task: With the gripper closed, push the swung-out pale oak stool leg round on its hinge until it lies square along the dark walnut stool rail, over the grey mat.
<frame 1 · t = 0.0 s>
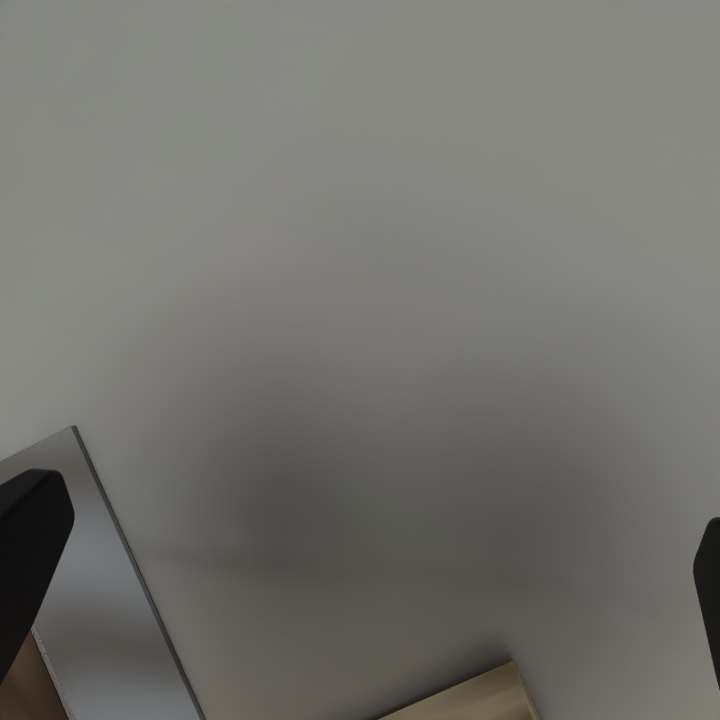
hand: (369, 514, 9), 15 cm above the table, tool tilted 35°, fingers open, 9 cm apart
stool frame: (2, 689, 25), on the table
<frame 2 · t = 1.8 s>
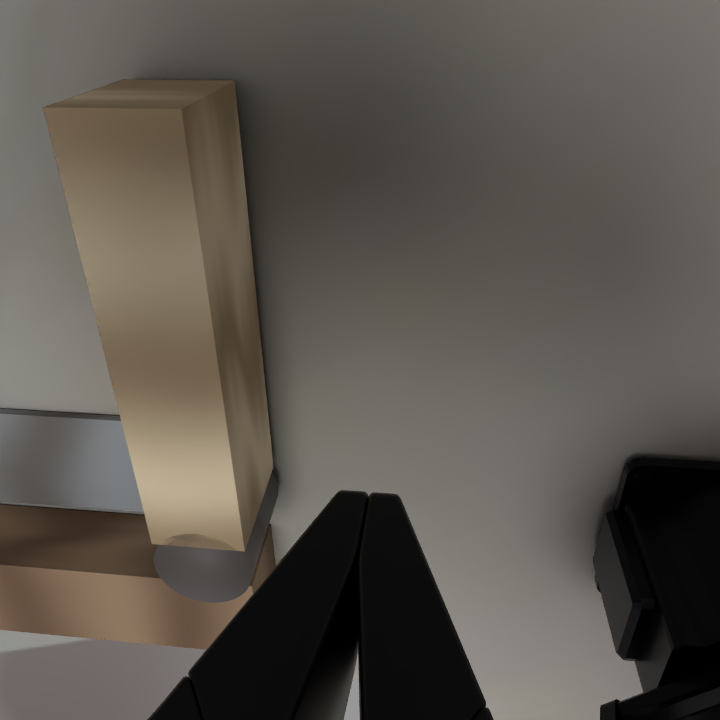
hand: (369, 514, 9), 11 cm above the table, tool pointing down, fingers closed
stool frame: (68, 542, 28), on the table
oak leg: (195, 373, 19), point 2 cm above the table, hinge at -90.0°
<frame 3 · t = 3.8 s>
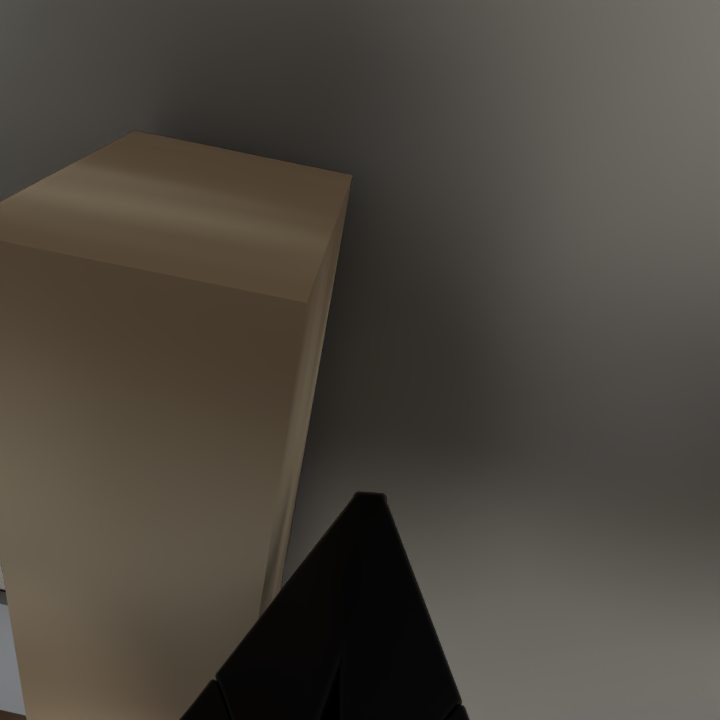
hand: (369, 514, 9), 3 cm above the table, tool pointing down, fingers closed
oak leg: (177, 636, 11), point 2 cm above the table, hinge at -85.9°, touching gripper
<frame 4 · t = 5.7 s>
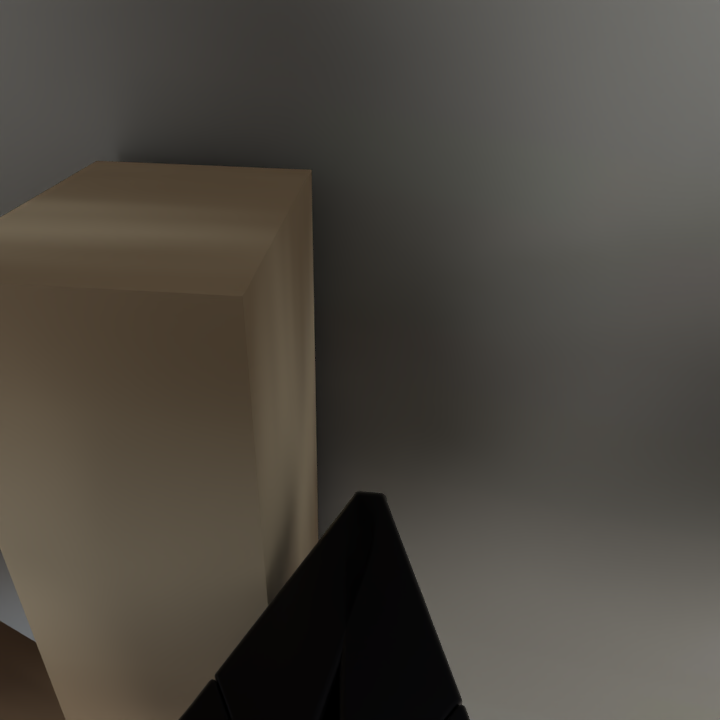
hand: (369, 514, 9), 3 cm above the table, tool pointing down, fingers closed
oak leg: (217, 649, 11), point 2 cm above the table, hinge at -44.1°, touching gripper
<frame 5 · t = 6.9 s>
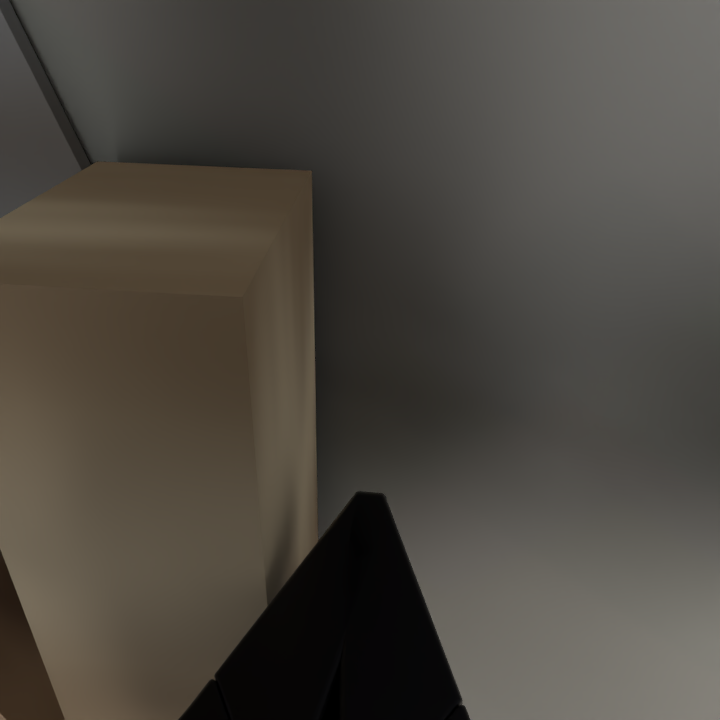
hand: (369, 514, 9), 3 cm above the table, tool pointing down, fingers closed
oak leg: (217, 650, 11), point 2 cm above the table, hinge at -17.9°, touching gripper
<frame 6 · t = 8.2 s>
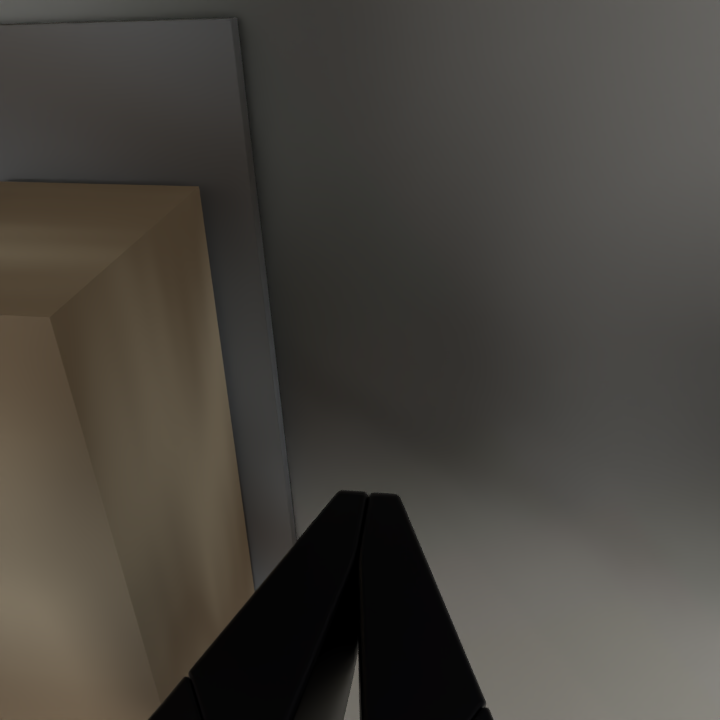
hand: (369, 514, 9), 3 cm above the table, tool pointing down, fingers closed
oak leg: (140, 652, 11), point 2 cm above the table, hinge at -1.3°
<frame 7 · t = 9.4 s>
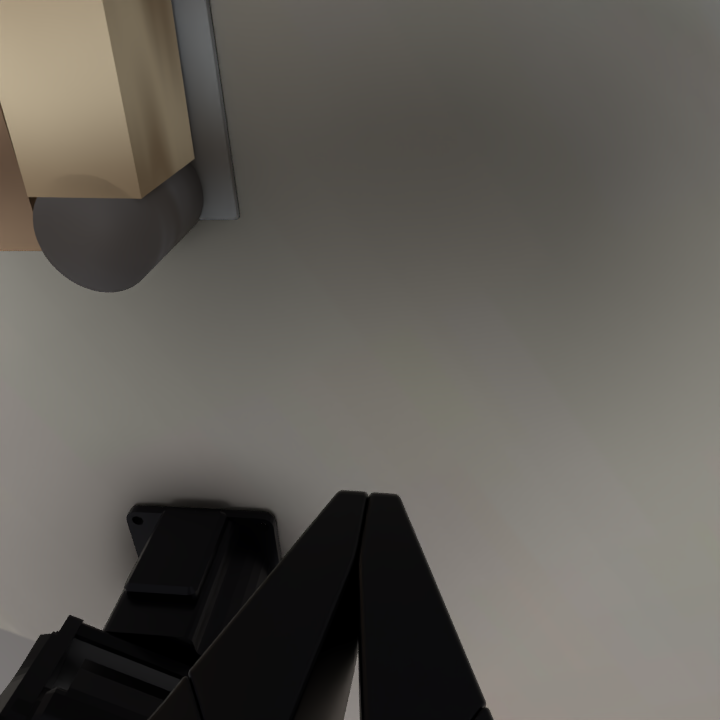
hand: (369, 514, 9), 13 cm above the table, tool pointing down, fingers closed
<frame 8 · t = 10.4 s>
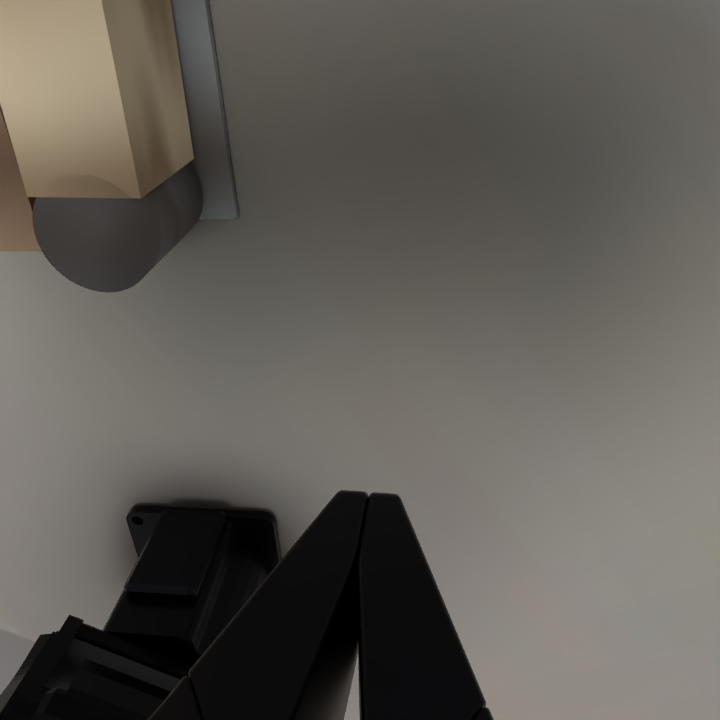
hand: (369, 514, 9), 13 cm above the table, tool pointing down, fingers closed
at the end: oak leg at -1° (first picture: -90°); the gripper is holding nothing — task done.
